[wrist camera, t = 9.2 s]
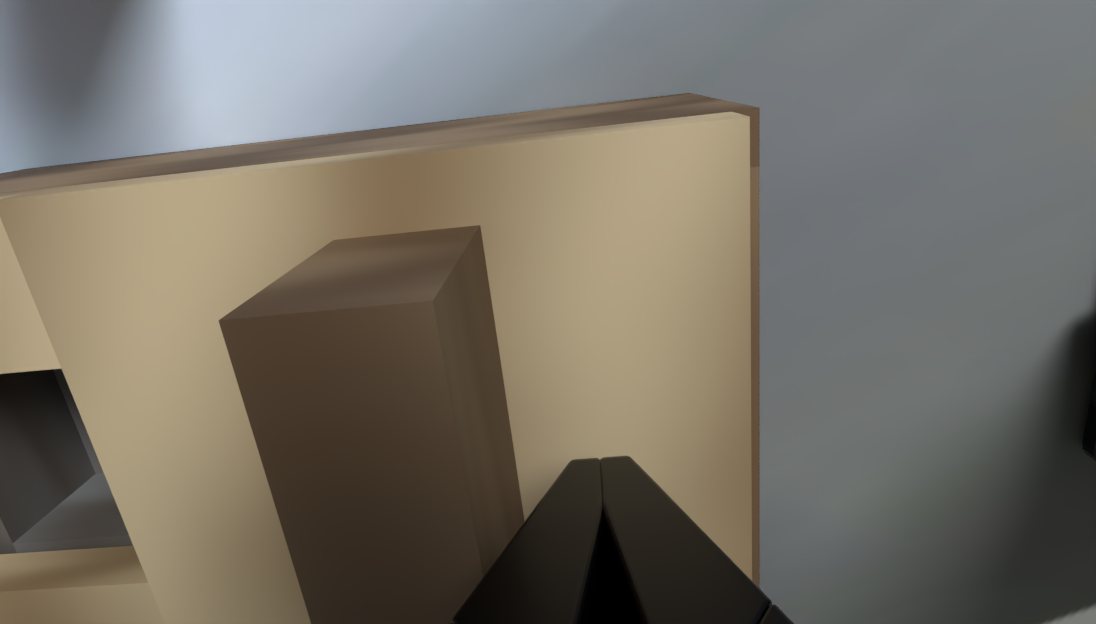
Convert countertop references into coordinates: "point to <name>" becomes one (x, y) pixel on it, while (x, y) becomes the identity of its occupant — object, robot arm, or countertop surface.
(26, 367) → the lid
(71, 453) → the wooden box
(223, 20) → the countertop surface
